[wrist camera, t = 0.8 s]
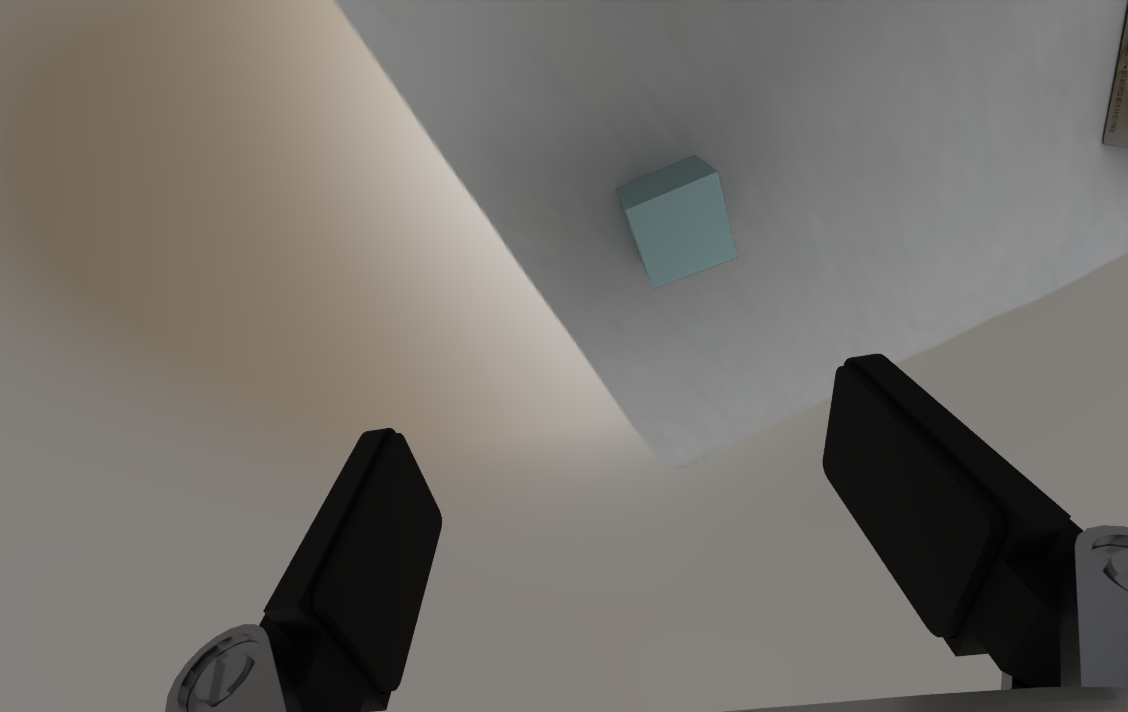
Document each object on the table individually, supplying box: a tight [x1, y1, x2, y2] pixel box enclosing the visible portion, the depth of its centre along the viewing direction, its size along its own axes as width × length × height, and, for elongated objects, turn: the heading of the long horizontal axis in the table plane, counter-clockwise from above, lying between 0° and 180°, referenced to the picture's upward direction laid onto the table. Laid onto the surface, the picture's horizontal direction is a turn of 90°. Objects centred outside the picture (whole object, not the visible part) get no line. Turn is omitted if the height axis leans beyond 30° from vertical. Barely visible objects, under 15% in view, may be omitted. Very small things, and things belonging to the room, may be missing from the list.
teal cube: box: [616, 156, 737, 289], centre depth 27 cm, size 5×5×5 cm
